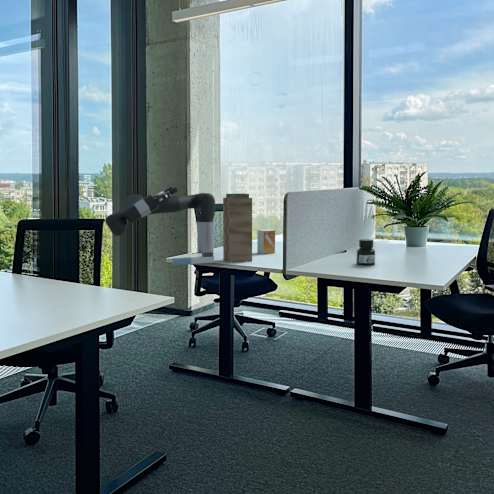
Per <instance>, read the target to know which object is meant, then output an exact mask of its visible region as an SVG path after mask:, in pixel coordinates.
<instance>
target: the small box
mask: <svg viewBox="0 0 494 494" xmlns="http://www.w3.org/2000/svg"><path fill="white" fill-rule="evenodd" d="M256 238H257V243H256V244H257V245H256V247H257V248H256V249H257V250H256V251H257V252H256V253H257V254H261V255H269V254H276V230H275V229H257V237H256Z"/></svg>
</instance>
